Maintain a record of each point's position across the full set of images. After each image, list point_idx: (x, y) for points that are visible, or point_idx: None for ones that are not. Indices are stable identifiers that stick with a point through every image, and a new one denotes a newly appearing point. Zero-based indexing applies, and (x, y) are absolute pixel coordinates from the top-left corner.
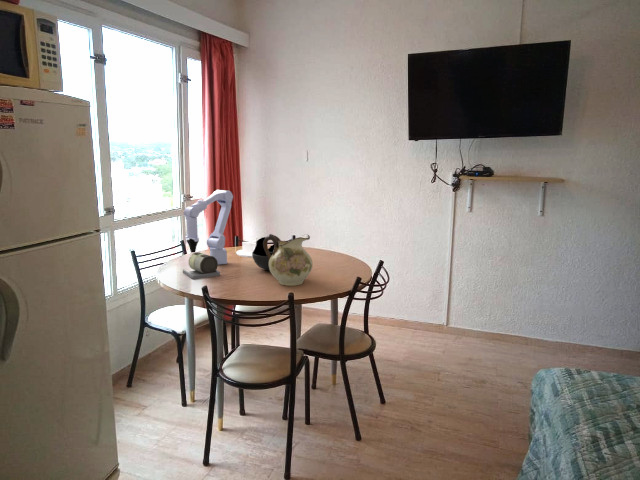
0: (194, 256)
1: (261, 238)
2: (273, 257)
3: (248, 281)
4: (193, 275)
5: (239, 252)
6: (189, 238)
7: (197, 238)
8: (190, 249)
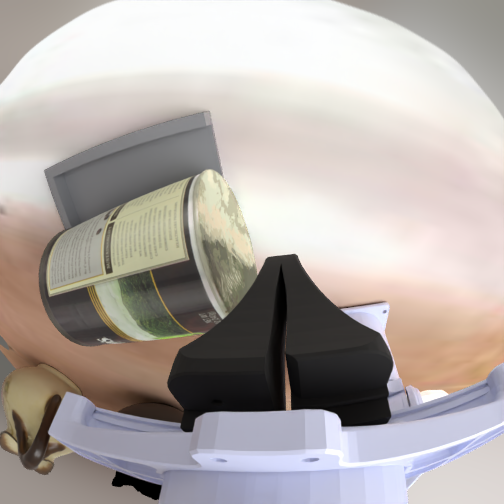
0: (135, 248)
1: (142, 492)
2: (8, 403)
3: (49, 330)
4: (51, 174)
5: (424, 400)
6: (166, 433)
7: (71, 445)
8: (282, 270)
